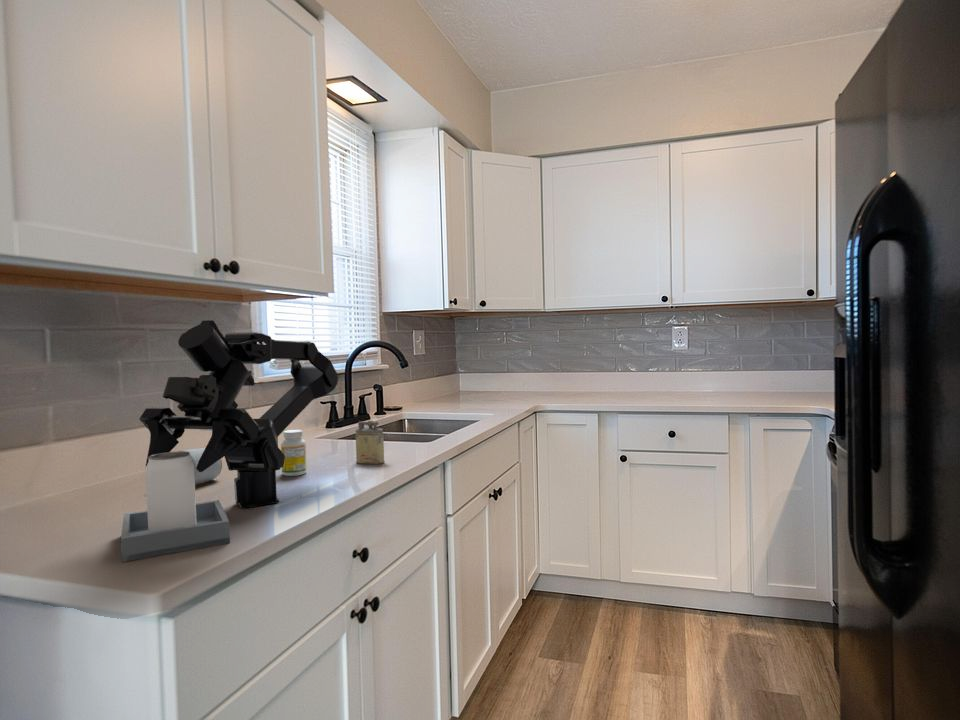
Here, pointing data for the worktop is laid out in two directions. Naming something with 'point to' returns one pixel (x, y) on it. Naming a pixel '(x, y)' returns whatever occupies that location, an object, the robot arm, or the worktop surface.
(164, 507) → the can
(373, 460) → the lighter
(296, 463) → the supplement bottle
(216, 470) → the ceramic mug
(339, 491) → the worktop surface
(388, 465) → the worktop surface
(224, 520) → the tray
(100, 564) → the worktop surface
